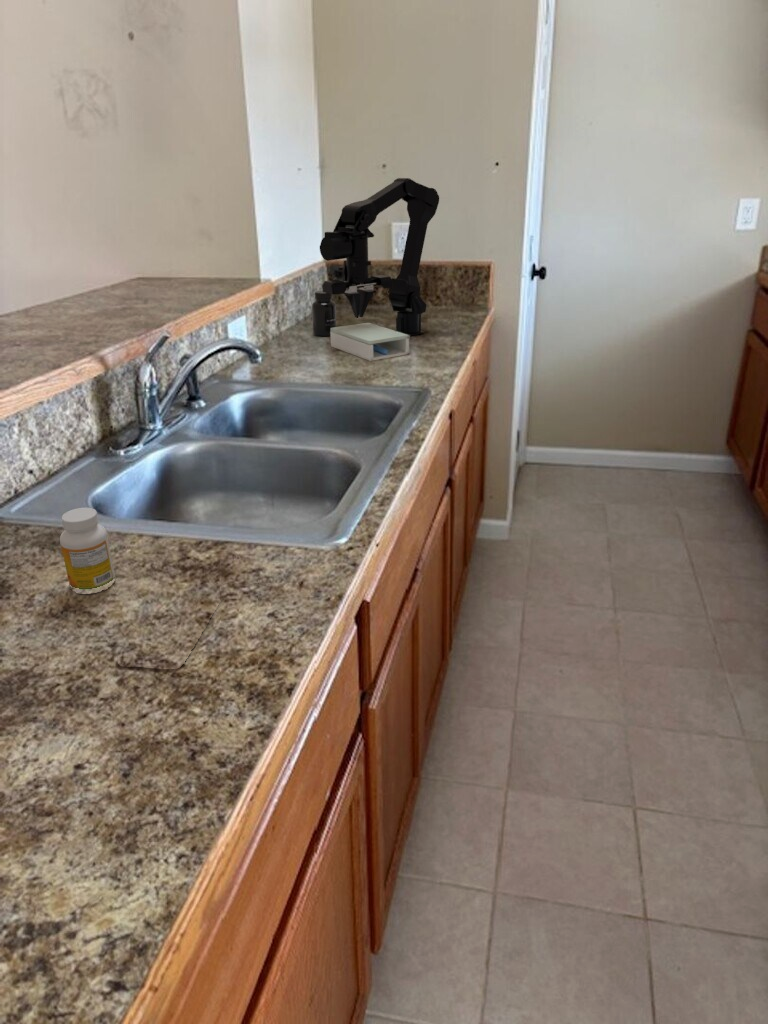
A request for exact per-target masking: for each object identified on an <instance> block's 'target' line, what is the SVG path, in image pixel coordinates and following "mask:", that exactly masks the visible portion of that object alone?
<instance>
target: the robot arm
mask: <svg viewBox="0 0 768 1024" xmlns="http://www.w3.org/2000/svg"><path fill="white" fill-rule="evenodd" d="M400 200H402V201H404V202H405V203H406V205H407V206H406V211H407V214H408V218H409V224H408V230H407V236H406V240H405V245H404V251H403V254H402V255H403V256H402V261H401V266H400V270H399V274H398V275H397V276H396V278H393V277H391V276H390V275H389V276H388V275H384V274H376V275H374V274H373V275H370V274H369V273H370V272H369V266H371V265H372V261H371V260H369V239H370V238H374V237H375V234H374V233H373V232H372V231H371V230H370V229H369V228H370V227H371V226H372V224H374V223H375V222H376V219H377V216H378V215H380V214H381V213H382V212H383V211H385V210H387V209H388V208H390V207H391V206H392V205H394V204H396V203H397V202H398V201H400ZM439 203H440V195H439V193H438V191H437V190H436V189H435V188H433V187H428V186H426V185H424V184H421V183H419V182H417V181H415V180H413V179H411V178H409V177H408V178H407V177H398V178H396V179H394V180H393V182H391V183H390V184H388V185H386V186H385V187H383V188H382V189H380V190H379V191H378V192H375V193H374V194H372V195H370V196H369V197H368V198H366V199H364V200H359V201H355V202H350V203H349V204H346V205H344V206H343V207H342V209H341V214H340V216H339V218H338V220H337V222H336V225H335V227H334V228H333V231H325V232H324V237H323V238H322V239H321V241H320V244H319V253H320V255H321V257H322V259H324V260H325V261H330V262H331V261H337V260H343V259H344V260H343V266H342V267H340V266H339V265H337V264H336V265H331V266H330V267H329V277H330V279H332V280H325V281H323V284H322V285H321V286H322V291H323V292H325V293H329V294H332V296H334V295H335V296H336V295H341V294H342V295H344V296H345V297H346V298H347V301H348V302H349V304H350V307H351V309H352V312H353V315H354V318H356V319H359V318H363V317H364V314H365V312H366V310H367V307H368V305H369V303H370V301H371V300H372V298H373V295H374V294H376V293H377V290H375V289H374V287H376V286H380V287H381V288H382V289H388V290H387V293H388V300H389V301H390V304H391V309H392V311H393V312H396V316H397V317H396V318H395V331H397V332H401V333H404V334H407V335H410V337H411V336H416V335H423V334H425V331H422V315H423V314H424V313H426V310H427V307H428V305H427V303H426V302H425V301H424V299H422V297H421V285H420V281H419V278H418V275H419V269H420V265H421V264H420V263H421V258H422V254H423V249H424V243H425V241H426V240H425V239H426V234H427V229H428V225H429V223H430V221H431V220H432V219H433V218H434V217H435V215H436V212H437V209H438V206H439ZM345 259H346V260H345ZM369 275H370V276H369Z"/></svg>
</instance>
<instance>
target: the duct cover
mask: <svg viewBox="0 0 768 1024" xmlns="http://www.w3.org/2000/svg"><path fill="white" fill-rule="evenodd" d="M331 331H332V332H335V333H338V334H341V335H344V336H347V337H349V338H352V339H355V340H358V341H361V342H364V343H367V344H375V343H382V342H388V341H394V340H400V339H407V338H408V339H410V337H411V336H410V335H407V334H404V333H401V332H397V331H396V330H394V329H391V328H387V327H384V326H381V325H377V324H374V323H371V322H365V323H357V324H349V325H341V326H336V327H334V328H331Z"/></svg>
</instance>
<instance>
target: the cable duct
mask: <svg viewBox="0 0 768 1024" xmlns="http://www.w3.org/2000/svg"><path fill="white" fill-rule="evenodd" d="M329 337H330V346H331V347H332V348H335V349H338V350H340V351H342V352H345V353H348V354H351V355H354V356H356V357H359V358H360V359H363V360H366V361H369V362H372V361H378V360H379V361H380V360H384V359H389V358H395V357H399V356H406V355H409V354H410V338H407V339H400V340H394V341H388V342H382V343H375V344H367V343H364V342H361V341H358V340H355V339H352V338H349V337H347V336H344V335H341V334H338V333H335V332H332V331H330V336H329Z"/></svg>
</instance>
